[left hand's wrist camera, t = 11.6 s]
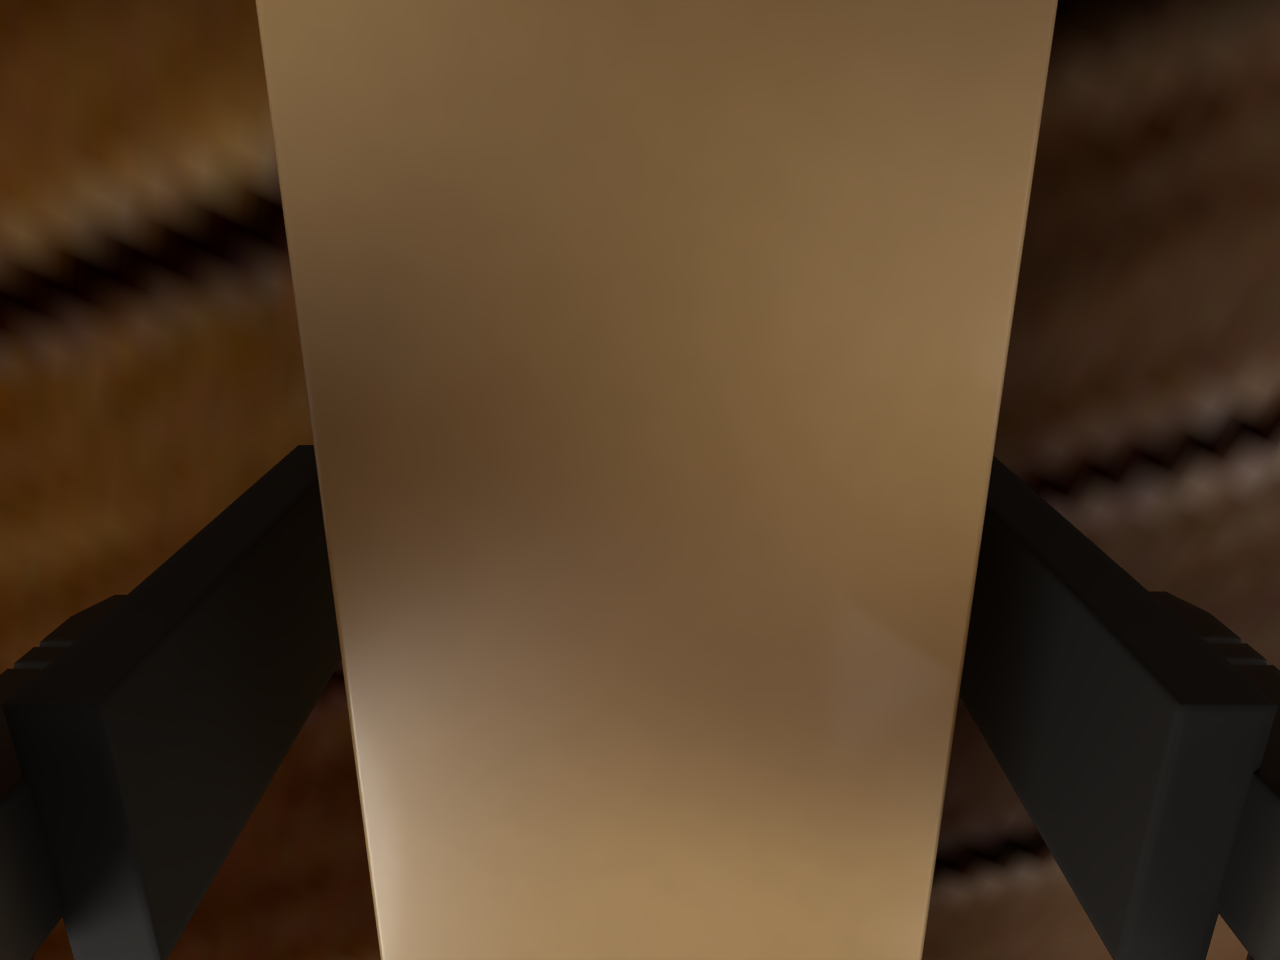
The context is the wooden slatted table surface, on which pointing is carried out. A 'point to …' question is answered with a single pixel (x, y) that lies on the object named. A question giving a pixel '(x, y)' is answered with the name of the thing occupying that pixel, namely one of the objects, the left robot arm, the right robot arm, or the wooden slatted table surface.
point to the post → (654, 448)
